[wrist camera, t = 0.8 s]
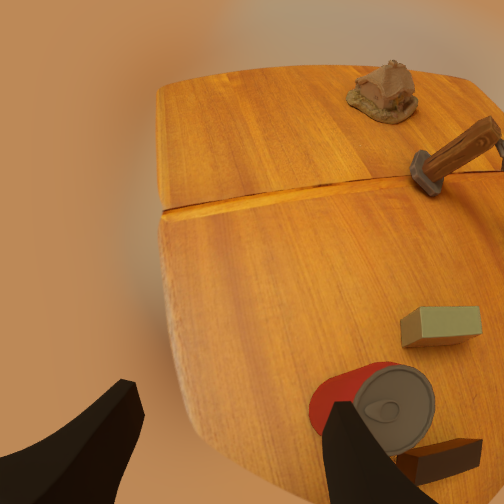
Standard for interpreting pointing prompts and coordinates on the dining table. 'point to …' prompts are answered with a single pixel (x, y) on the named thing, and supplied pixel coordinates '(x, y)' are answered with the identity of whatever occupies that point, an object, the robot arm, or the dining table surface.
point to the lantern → (456, 155)
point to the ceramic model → (385, 94)
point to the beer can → (381, 403)
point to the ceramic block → (440, 326)
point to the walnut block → (440, 460)
